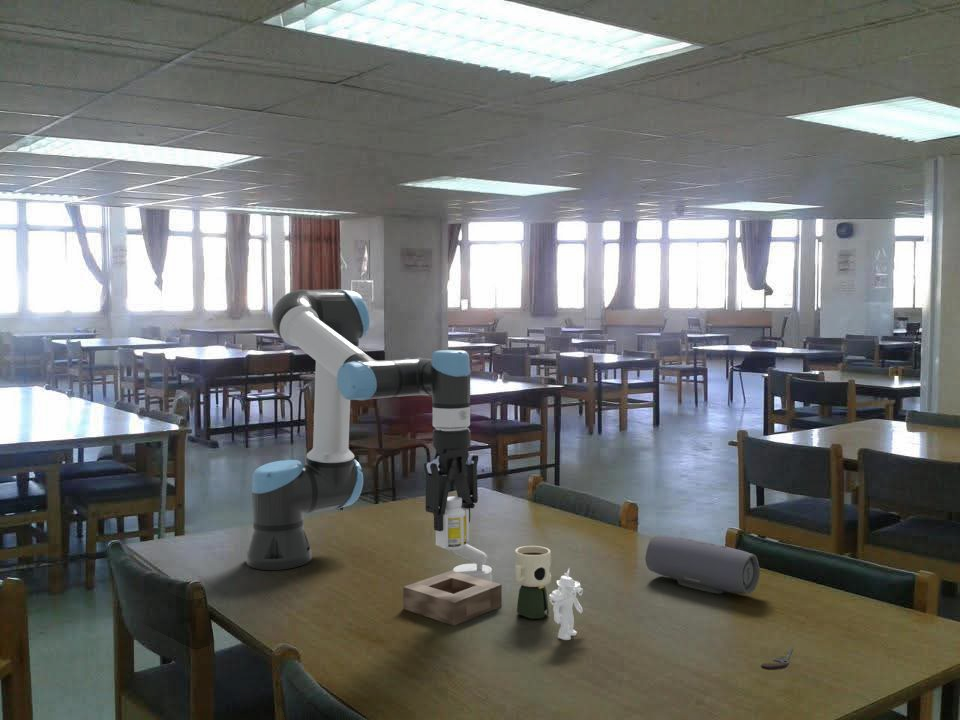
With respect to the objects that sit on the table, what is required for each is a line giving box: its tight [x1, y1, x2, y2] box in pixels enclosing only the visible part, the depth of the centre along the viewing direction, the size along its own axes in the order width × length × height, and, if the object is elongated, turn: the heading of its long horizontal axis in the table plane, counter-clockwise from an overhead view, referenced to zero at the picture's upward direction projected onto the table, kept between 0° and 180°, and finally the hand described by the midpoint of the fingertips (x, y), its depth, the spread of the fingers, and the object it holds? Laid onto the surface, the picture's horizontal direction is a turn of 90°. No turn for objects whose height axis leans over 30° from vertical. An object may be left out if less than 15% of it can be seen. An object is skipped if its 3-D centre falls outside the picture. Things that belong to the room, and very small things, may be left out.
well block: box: [402, 570, 503, 627], centre depth 174 cm, size 14×14×4 cm
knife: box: [760, 646, 794, 670], centre depth 151 cm, size 14×4×1 cm, turn 152°
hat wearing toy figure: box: [548, 567, 584, 641], centre depth 159 cm, size 9×4×12 cm, turn 143°
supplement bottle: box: [440, 496, 467, 551], centre depth 173 cm, size 5×5×10 cm
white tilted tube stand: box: [448, 543, 493, 582], centre depth 191 cm, size 9×10×10 cm
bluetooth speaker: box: [645, 534, 761, 595], centre depth 186 cm, size 23×9×10 cm, turn 47°
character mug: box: [514, 545, 552, 619], centre depth 169 cm, size 11×7×13 cm, turn 142°
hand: (452, 542), depth 174 cm, fingers closed on supplement bottle, 5 cm apart
